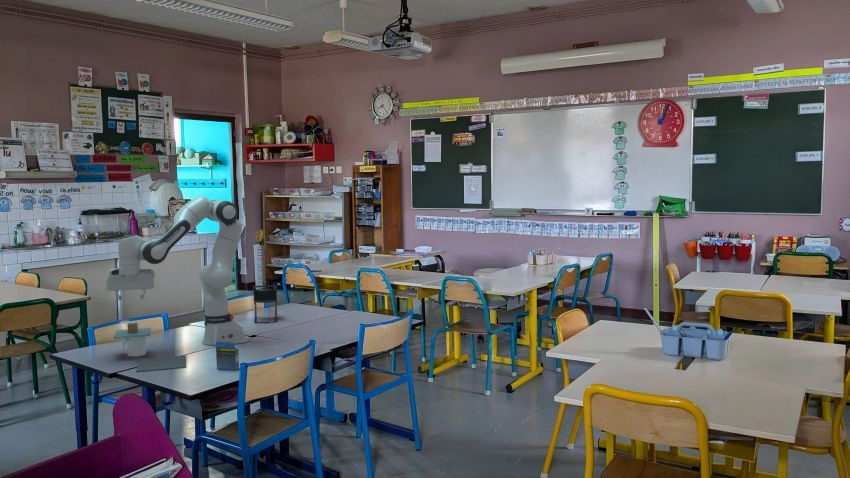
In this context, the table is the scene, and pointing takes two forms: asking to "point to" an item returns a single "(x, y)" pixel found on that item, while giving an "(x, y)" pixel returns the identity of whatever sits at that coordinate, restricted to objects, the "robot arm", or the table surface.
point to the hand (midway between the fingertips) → (131, 299)
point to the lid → (132, 332)
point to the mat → (161, 363)
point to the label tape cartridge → (227, 356)
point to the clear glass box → (265, 299)
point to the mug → (135, 346)
